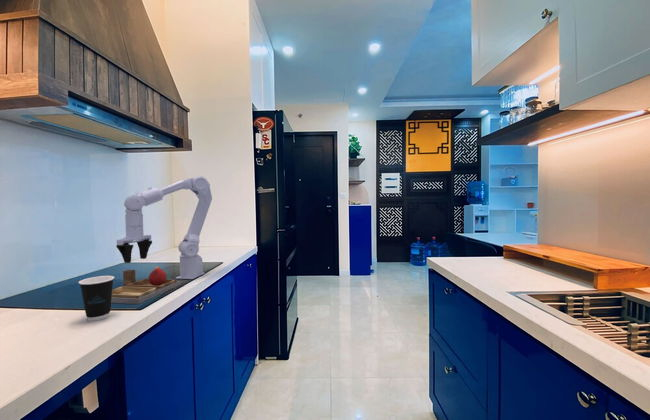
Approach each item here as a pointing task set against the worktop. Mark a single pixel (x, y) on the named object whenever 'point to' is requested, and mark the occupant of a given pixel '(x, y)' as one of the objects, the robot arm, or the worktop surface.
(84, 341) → the worktop surface
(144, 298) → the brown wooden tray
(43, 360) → the worktop surface
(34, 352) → the worktop surface
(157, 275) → the onion
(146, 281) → the walnut tray
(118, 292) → the oak tray
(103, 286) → the dixie cup
